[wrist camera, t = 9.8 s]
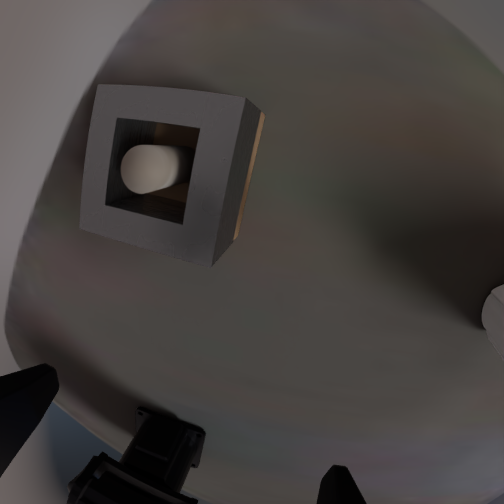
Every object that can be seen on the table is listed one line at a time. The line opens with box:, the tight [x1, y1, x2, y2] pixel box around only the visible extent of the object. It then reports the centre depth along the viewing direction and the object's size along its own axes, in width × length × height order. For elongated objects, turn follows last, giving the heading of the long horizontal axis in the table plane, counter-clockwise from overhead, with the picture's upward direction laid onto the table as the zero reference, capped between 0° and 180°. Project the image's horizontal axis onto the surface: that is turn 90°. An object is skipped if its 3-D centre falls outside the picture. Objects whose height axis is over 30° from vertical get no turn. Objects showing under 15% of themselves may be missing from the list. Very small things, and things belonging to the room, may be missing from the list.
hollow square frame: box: [79, 84, 261, 268], centre depth 14 cm, size 7×7×4 cm
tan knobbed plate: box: [121, 112, 265, 241], centre depth 15 cm, size 7×7×6 cm
